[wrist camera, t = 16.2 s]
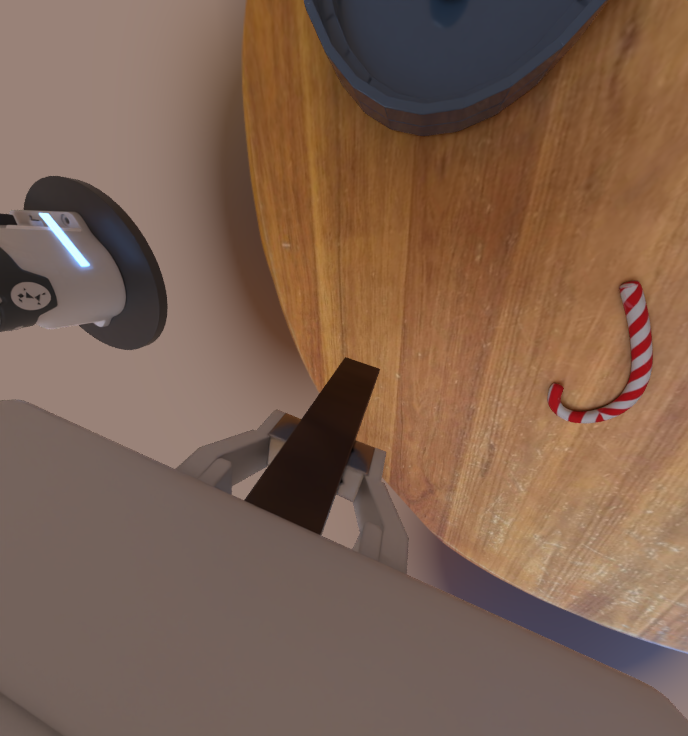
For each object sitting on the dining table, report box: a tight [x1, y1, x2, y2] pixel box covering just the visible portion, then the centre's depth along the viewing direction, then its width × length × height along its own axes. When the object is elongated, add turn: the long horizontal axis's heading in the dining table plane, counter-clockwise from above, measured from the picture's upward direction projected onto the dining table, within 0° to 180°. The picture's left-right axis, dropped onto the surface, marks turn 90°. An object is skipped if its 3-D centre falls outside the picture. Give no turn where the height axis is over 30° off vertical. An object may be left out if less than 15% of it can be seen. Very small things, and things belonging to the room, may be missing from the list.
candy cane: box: [547, 281, 653, 423], centre depth 25 cm, size 8×1×15 cm
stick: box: [244, 357, 380, 535], centre depth 11 cm, size 2×2×14 cm
